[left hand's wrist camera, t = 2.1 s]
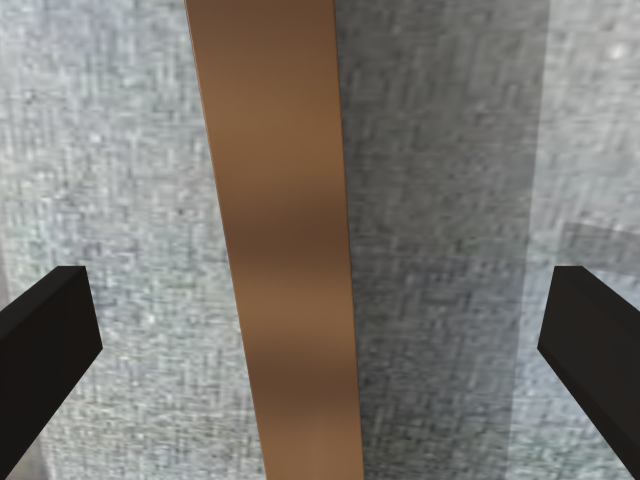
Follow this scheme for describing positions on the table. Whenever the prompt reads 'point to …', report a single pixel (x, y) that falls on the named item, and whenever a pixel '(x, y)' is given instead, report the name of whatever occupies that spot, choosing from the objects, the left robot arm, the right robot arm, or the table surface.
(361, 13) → the table surface
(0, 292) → the table surface
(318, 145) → the post
